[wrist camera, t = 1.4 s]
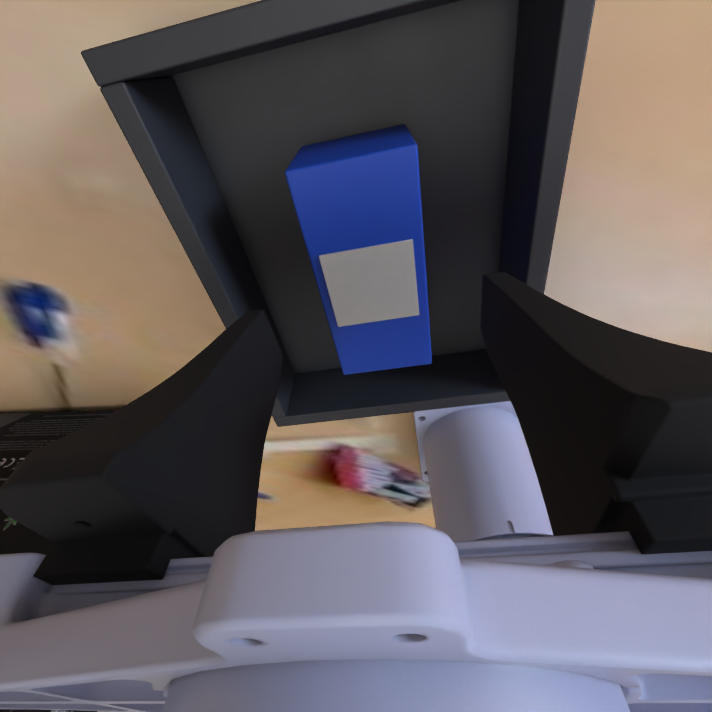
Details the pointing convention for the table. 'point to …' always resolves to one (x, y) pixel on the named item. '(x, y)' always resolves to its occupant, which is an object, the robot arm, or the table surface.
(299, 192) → the blue box
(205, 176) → the desk bin
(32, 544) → the graphics card box
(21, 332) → the table surface
